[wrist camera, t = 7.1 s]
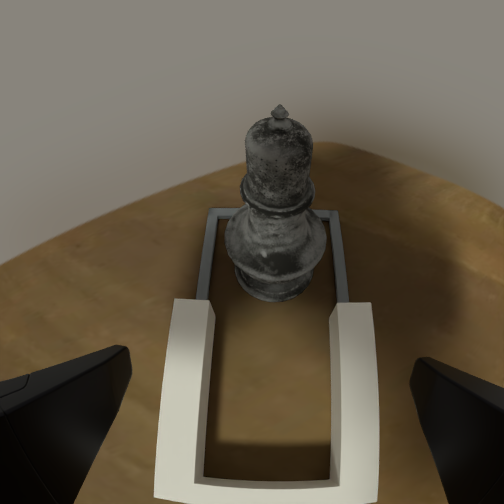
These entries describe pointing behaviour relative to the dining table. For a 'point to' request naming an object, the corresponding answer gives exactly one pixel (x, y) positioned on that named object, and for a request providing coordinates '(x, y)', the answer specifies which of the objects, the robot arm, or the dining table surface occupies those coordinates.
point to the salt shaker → (276, 212)
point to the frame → (227, 214)
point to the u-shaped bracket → (196, 406)
